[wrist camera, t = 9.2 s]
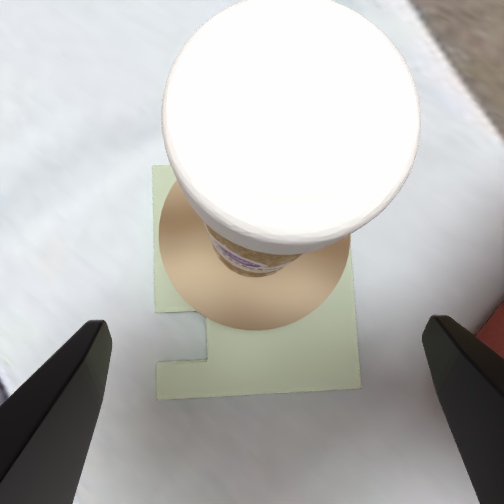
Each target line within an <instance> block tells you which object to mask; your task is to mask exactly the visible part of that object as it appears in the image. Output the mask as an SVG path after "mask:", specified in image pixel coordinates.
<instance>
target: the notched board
mask: <svg viewBox="0 0 504 504" xmlns="http://www.w3.org/2000/svg"><path fill="white" fill-rule="evenodd" d="M152 175H153V233H154V292H155V313H163V312H184V311H196V310H195V309H194V308H192V307H191V306H190V305H189V304H188V303H187V302H186V301H185V300H184V299H183V298H182V297H181V296H180V294H179V293H178V292H177V290H176V289H175V287H174V286H173V285H172V283H171V281H170V279H169V277H168V275H167V273H166V270H165V268H164V265H163V262H162V258H161V254H160V249H159V237H158V236H159V222H160V216H161V211H162V208H163V205H164V202H165V199H166V197H167V195H168V193H169V191H170V189H171V187H172V186H173V184H174V183H175V181H176V180H177V179H176V177H175V174H174V172H173V169H172V167H171V165H162V166H152ZM206 336H207V359H202V360H183V361H164V362H158V363H157V364H156V400H172V399H189V398H207V397H224V396H242V395H259V394H277V393H295V392H312V391H330V390H347V389H361V378H360V364H359V351H358V338H357V324H356V311H355V298H354V285H353V271H352V258H351V245H350V249H349V255H348V259H347V263H346V266H345V269H344V271H343V274H342V276H341V278H340V280H339V282H338V284H337V285H336V287H335V289H334V290H333V291H332V293H331V294H330V295H329V296H328V298H327V299H326V300H325V301H324V302H323V303H322V304H321V305H320V306H319V307H318V308H316V309H315V310H314V311H312V312H311V313H310V314H309V315H307V316H305V317H303V318H302V319H300V320H298V321H296V322H294V323H291V324H289V325H286V326H283V327H279V328H275V329H269V330H260V331H258V330H242V329H235V328H231V327H228V326H224V325H221V324H219V323H217V322H214V321H212V320H210V319H208V318H207V317H206Z"/></svg>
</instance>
